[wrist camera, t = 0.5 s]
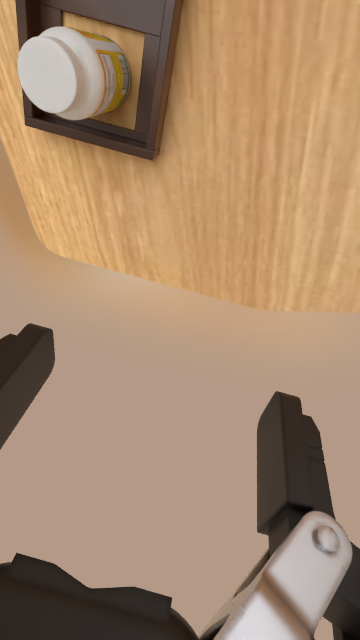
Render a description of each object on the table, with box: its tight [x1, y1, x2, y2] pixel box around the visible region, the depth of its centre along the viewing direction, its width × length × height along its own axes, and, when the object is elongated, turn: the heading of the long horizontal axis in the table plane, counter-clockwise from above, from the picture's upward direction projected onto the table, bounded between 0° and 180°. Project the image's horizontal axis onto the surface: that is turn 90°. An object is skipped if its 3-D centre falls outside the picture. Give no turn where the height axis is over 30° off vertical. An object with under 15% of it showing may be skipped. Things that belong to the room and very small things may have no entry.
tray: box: [16, 0, 183, 161], centre depth 25 cm, size 18×12×2 cm, turn 168°
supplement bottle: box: [17, 27, 131, 120], centre depth 25 cm, size 5×5×10 cm
